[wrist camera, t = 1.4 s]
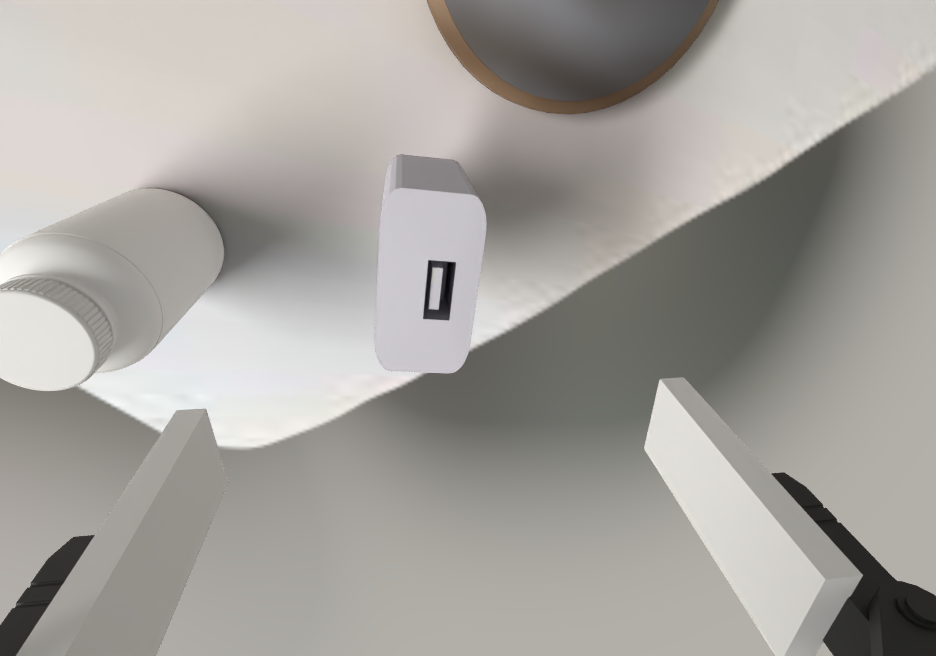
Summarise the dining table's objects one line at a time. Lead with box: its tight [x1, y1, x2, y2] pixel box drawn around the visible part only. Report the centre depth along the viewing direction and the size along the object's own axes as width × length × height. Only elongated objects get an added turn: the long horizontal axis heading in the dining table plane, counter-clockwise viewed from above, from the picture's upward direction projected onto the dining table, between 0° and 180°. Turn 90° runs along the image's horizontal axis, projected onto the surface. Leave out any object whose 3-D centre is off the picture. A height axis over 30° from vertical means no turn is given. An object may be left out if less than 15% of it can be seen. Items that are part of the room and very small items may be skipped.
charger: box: [375, 154, 487, 373], centre depth 30 cm, size 5×9×15 cm, turn 173°
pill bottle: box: [0, 188, 224, 391], centre depth 29 cm, size 8×8×15 cm
